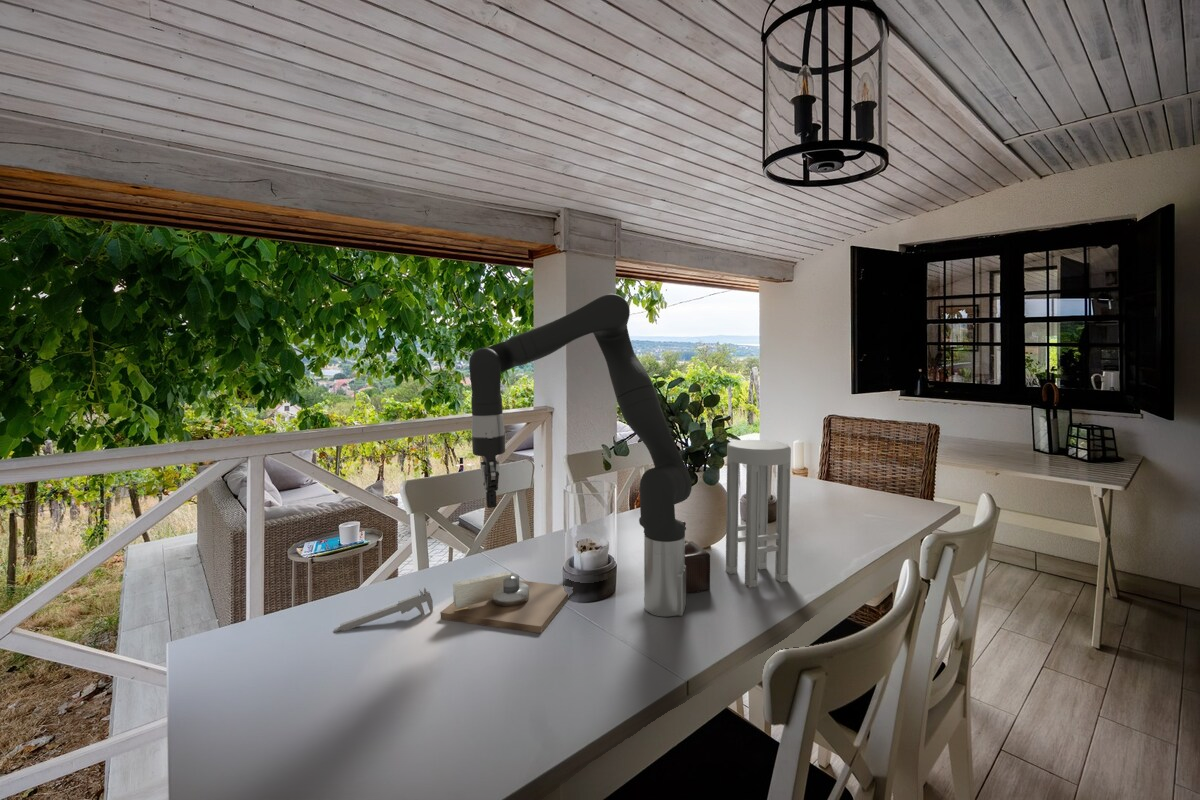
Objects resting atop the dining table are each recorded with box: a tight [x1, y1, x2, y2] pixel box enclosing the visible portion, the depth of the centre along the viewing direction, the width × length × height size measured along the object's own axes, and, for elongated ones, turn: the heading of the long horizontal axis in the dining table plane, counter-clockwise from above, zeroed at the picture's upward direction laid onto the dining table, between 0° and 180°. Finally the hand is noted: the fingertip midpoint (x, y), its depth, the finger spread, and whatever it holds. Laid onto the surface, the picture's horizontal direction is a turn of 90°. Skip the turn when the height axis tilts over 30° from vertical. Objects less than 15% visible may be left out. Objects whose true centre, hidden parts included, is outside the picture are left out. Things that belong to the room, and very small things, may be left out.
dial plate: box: [439, 579, 569, 634], centre depth 134 cm, size 24×21×2 cm
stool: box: [725, 439, 792, 588], centre depth 148 cm, size 16×16×35 cm
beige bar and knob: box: [452, 571, 530, 608], centre depth 131 cm, size 18×9×6 cm, turn 120°
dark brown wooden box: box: [638, 516, 711, 595], centre depth 143 cm, size 16×11×18 cm
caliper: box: [333, 587, 434, 633], centre depth 126 cm, size 20×1×6 cm, turn 115°
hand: (491, 506), depth 134 cm, fingers closed
